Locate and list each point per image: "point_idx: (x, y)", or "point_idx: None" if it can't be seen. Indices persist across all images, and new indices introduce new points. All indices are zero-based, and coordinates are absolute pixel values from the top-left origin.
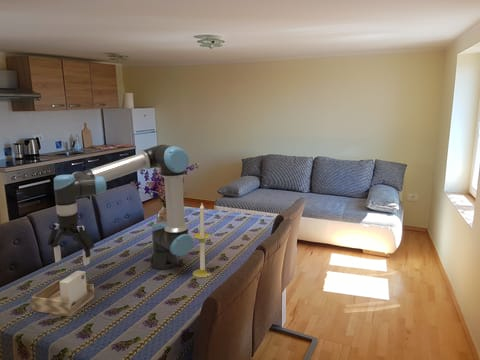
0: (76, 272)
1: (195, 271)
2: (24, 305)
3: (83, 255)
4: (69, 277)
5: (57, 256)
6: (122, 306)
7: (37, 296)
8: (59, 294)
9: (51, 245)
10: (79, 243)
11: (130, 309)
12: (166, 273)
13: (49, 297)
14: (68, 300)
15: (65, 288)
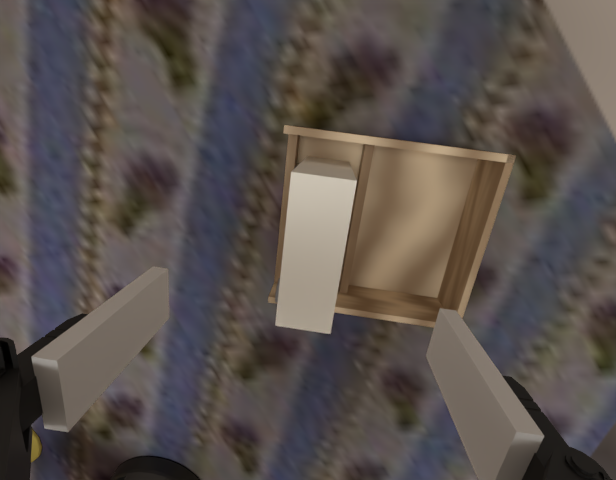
0: (320, 310)
1: (33, 448)
2: (538, 185)
3: (102, 318)
4: (326, 246)
5: (453, 353)
6: (139, 222)
7: (489, 188)
8: (421, 269)
9: (603, 472)
10: (1, 470)
11: (99, 205)
12: (119, 436)
13: (452, 243)
14: (308, 160)
15: (316, 169)
